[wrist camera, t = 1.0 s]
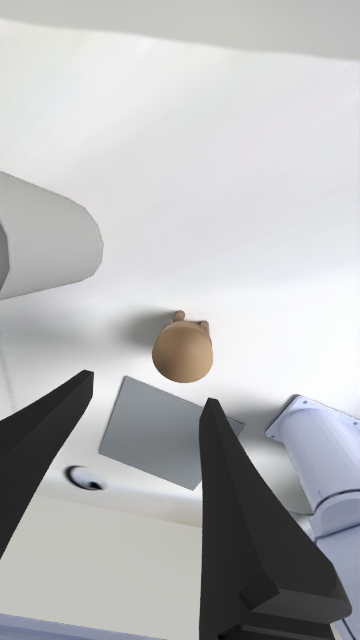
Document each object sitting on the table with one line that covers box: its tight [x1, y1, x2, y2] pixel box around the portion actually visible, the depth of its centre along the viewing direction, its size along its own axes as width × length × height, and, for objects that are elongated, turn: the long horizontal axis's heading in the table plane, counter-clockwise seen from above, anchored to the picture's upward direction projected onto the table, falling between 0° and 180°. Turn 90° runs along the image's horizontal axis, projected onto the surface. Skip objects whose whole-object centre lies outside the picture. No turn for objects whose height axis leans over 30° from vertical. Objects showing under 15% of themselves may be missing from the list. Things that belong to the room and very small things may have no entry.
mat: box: [99, 376, 244, 491], centre depth 28 cm, size 18×18×1 cm
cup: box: [0, 171, 104, 300], centre depth 15 cm, size 8×8×10 cm
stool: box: [152, 311, 213, 383], centre depth 19 cm, size 5×5×6 cm
